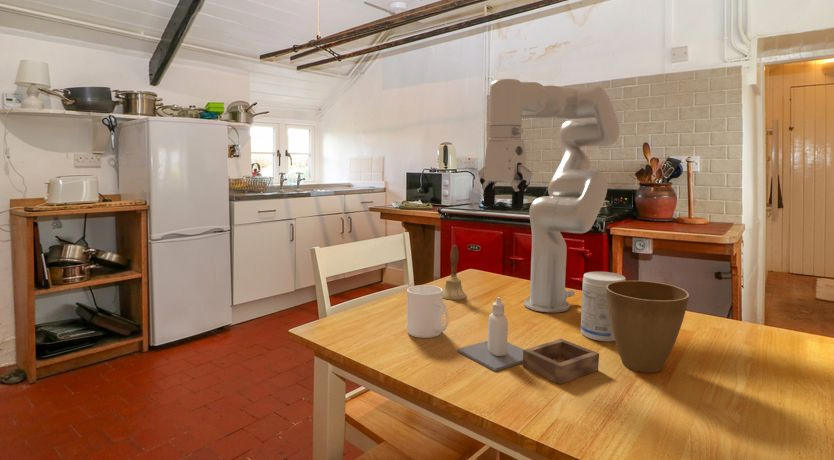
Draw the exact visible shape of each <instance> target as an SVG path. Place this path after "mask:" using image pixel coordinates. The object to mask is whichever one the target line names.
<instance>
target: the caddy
mask: <svg viewBox="0 0 834 460" xmlns="http://www.w3.org/2000/svg"><path fill="white" fill-rule="evenodd" d="M560 358H562V359H563V360H564V361H562V362H559V361H557V360H558V359H560ZM599 361H600V352H596V351H594V350H591V349H589V348H586V347H583V346H581V345H579V344H576V343H574V342H571V341H569V340H565V339H563V338H559V339H557V340H552V341H549V342H546V343H543V344H538V345H536V346H532V347H528V348H526V349H524V350H523V363H522V367H523V368H525V369H527V370H528V371H530V372H531V371H532V372H533V373H535V374H537V375H539V376H542V377H543V378H545V379H548V380H550V381H551V382H554V383H556V384H557V385H563V384H565V383H568V382H570V381H573V380H575V379H577V378H581V377H584V376H586V375H589V374H591V373H595V372H596V371H599V365H600V364H599V363H600V362H599Z"/></svg>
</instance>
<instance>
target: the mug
mask: <svg viewBox="0 0 834 460" xmlns="http://www.w3.org/2000/svg"><path fill="white" fill-rule="evenodd" d="M443 290H444V288H442V287H440V286H438V285H429V284H419V285H412V286H409V287H408V288H406V329H407V330H406V331H407V333H408V335H410V336H412V337H414V338H419V339H429V338H430V339H431V338H432V339H433V338H435V337H438V336H440V335H441V334H442V332H445V330H446V329H447V327H448V326H449V311H448V308H447V305H446V303H444V300H443V299H444V298H443ZM443 312H444V315H445V317H446V321H445V324H444V325H443Z"/></svg>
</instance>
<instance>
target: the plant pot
mask: <svg viewBox="0 0 834 460" xmlns="http://www.w3.org/2000/svg"><path fill="white" fill-rule="evenodd" d="M606 291H607V300H608V308H609V315H610V320H611V325H612V330H613V334H614V338H615V341H614V342H615V344H616V347H617V351H618V354H619V357H620V360H621V362H622V365H624V366H625V367H626V368H628V369H631V370H633V371H635V372H641V373H658V372H661V371H662V370H663V368H664V366H665V364H666V362H667V361H668V358H669V357H670V354H671V353H672V350H673V348H674V345H675V343H676V341H677V338H678V336H679V334H680V331H681V328H682V324H683V322H684V317H685V314H686V311H687V306H688V303H689V299H690V293H689V291H687V290H686V289H683V288H681V287H680V286H679V287H678V286H676V285H673V284H669V283H663V282H657V281H650V280H649V281H648V280H626V281H617V282H612V283H610V284H608V285H607V286H606Z"/></svg>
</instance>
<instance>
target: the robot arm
mask: <svg viewBox="0 0 834 460" xmlns="http://www.w3.org/2000/svg"><path fill="white" fill-rule="evenodd" d="M488 102H489V107H488V108H489V109H488V110H489V114H488V115H489V118H488V119H489V120H488V140H487V144H486V148H485V156H484V166H483V167H481V169H479V170H478V171H477V175H478V177H479V183H480V184H481V189H482V190H483V206H485V207H487V206H488V207H489V206H495V202H496V201H495V199H496V189H495V188H494V187H495V185H496V184H497V183H501V184H502V183H503V184H510V185H511V188H512V191H511V192H512V193H511V209H512V210H520V209H523V208H524V202H525V201H524V199H525V193H524V192H526V191H527V189H528V186H530V184H531V180H532V178H533V172H532V171H531V170H530V169H528V168H527V155H526V147H525V142H524V139H522V135H523V133H524V129H523V128H522V119H523V118H526V119H527V118H528V119H529V118H530V119H553V120H554V119H555V120H559V119H560V120H566V121H565V122H563V123H562V124H561V126H560V129H559V144H560V150H561V160H560V163H559V164H558V167H557V168H556V170H555V171H554V174H553V176H552V178H551V180H550V182H549V184H548V188H547V189H548V190H547V192H548V195H544V196H539V197H537V198H535V199H534V200H533V201H532V203H531V204H530V207H529V215H528V216H529V221H530V228H531V254H530V255H531V257H530V259H531V260H530V284H529V285H530V286H529V288H530V289H529V297H527V298H525V299H524V300H523V304H524V306H525V307H526V308H527V309H528V310H532V311H535V312H539V313H540V312H542V313H553V314H554V313H556V314H557V313H562V312H567V311H569V310H570V302H568V301H567V299H568V298H571V297H574V296H575V291H574V290H573V289H569V290H566V274H567V273H566V268H567V243H566V240H565V239H564V236H563V235H562V233H572V234H584V233H587V232H589V231H590V230H592V227H593V226H594V223H595V221H596V219H597V217H598V215H599V213H600V211H601V209H602V207H603V204H604V202H605V199H606V197H607V193H608V180H607V176H606V175H605V174H604V173H603V172H601V171H599V170H597V169H596V170H595V169H591V161H590V159H589V156H587V154H586V153H585V151H584V150H582V147H607V146H608V147H609V146H611V145H614V144H615V143H616V142H617V141H618V140H619V137H620V124H619V120H618V117H617V115H616V114H617V113H616V112H615V109H614V107H613V103H612V101H611V99H610V97H609V94H608V93H607V92H606V90H605V89H604V88H603V87H601V86H598V85H593V86H585V87H573V88H572V87H564V86H559V85H543V84H541V83H539V82H535V81H520V80H519V79H515V78H501V79H500V78H499V79H496V80H493V81H492V82H491V84H490V87H489V100H488ZM561 232H562V233H561Z"/></svg>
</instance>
